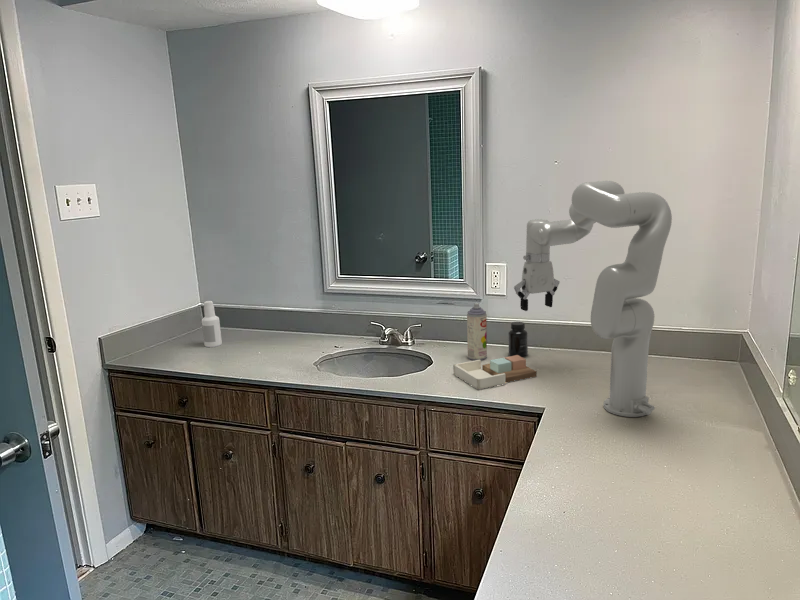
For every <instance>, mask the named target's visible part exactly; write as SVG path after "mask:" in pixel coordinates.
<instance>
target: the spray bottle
mask: <svg viewBox="0 0 800 600" xmlns="http://www.w3.org/2000/svg"><path fill="white" fill-rule="evenodd" d="M203 311H204V313H203V314H204V317H202V319H201V327H202V337H203V345H204V347H207V348H214V347H215V348H216V347H219V346H221V345H222V343H223V342H222V341H223V340H222V339H223V338H222V332H221V324H220V323H221V321H220V317H219V316H217V315H216V313H215V312H216V311H215V305H214V302H213V301H212V300H206V301H204V302H203Z"/></svg>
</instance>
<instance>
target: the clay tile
mask: <svg viewBox="0 0 800 600" xmlns="http://www.w3.org/2000/svg"><path fill="white" fill-rule="evenodd" d="M504 359H506V360H508V361H510V362H511V370H518V369H523V368H526V366H527V358H526V357H520V356H518V355H515V356H504Z"/></svg>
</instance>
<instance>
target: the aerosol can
mask: <svg viewBox="0 0 800 600" xmlns="http://www.w3.org/2000/svg"><path fill="white" fill-rule="evenodd" d="M473 304H474V305H473V306H472V308H470V310H469V311H467V313H466V326H467V327H466V331H467V332H466V334H467V338H466V339H467V340H466V341H467V359H468V360H469V361H475V360H481V361H485V360H487V359H488V357H487V356H488V354H487V353H488V345H487V344H488V340H487V339H488V336H487V335H488V334H487V333H488V332H487V331H488V330H487V327H488V326H487V323H488V320H487V319H488V318H487V311H485V310H484V309H483V308H482V307H481V306H480V303H478V302H477V303H473Z"/></svg>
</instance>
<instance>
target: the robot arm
mask: <svg viewBox="0 0 800 600" xmlns="http://www.w3.org/2000/svg"><path fill="white" fill-rule="evenodd" d="M568 215H569V218H570V219H565V220H564V219H563V220H555V221H549V220H548V219H542V218H541V219H539V218H538V219H537V218H536V219H530V220H528V221H527V223H526V239H525V240H526V243H525V245H526V248H525V250H526V251H525V255H523V260H524V264H523V267H522V275H521V281H520V282H518V283H517V284H516V285H514V287H513V289H514V291H515V294H516V295H517V297H519V299H520V306H519V307H520V309H521V311H525V312H528V311H529V299H528V297H529V296H530V294H541V293H545V294H544V295H545V297H544V305H545V306H546V307H547V308H548V307H549V308H552V307H553V302H554V301H553V297H554V295H555V293H556V292H557V290H558V288H559V285H560V283H561V282H560V280H558V279H556V278H554V268H553V261H552V260H550V258H551V257H550V256H551V255H550V252H551V251H550V250H551V249H550V248H551V247H553V246H554V247H555V246H561V245H562V246H563V245H570V244H574V243H576V242H579V241H580V240H581V239H584V238H585V237H586V236H588V235H589V234H590V233H591V231H592V230H593V227H594V224H595V223H598V224H599V225H602V226H604V227H607V228H611V229H612V228H613V229H619V228H629V227H636V226H638V227H639V228H638V229H637V231H636V232H635V234H634V235H633V236H632V238H631V240H630V242H629V244H628V249H627V254H626V258H625V261H623V263H617V264H611V265H609V266H606V267H605V268H604V269H602V271H601V272H600V273H599V275H598V277H597V278H596V283H595V289H594V293H593V300H592V306H591V311H590V326H591V329H592V332H593V333H594V334H595V335H596V336H597V337H598V338H601V339H606V340H608V339H613V341H612V345H611V351H610V353H611V354H610V355H611V357H610V376H609V380H610V381H609V397H608V398H607V397H606V398H605V400H603V408H604V410H606V412H609V413H611V414H613V415H616V416H620V417H627V418H639V417H645V416H649V415H651V413H652V411H654V410H655V408H656V407H655V405H653V404H650V403H649V396H647V380H648V379H647V378H648V363H649V349H650V340H651V335H652V332H653V329H654V328H653V327H654V323H655V311H654V308H653V306H652V305H651V303H649V302H648V301H647V300H645V299H642V298H643V297H646V296H648V295H651V294H652V293H653V292H654V290H655V288H656V286H657V282H658V277H659V273H660V267H661V264H662V259H663V255H664V250H665V246H666V243H667V241H668V237H669V234H670V232H671V227H672V220H673V219H672V218H673V217H672V216H673V215H672V211H671V206H669V203H668V201H666V199H665V198H664V197H663V196H661V195H660V194H657V193H655V192H650V191H649V192H648V191H647V192H645V191H642V192H640V191H639V192H632V193H631V192H630V193H625V190H624V188H623V186H621V184H619V183H618V182H615V181H612V180H601V181H600V180H598V181H587V182H582V183H581V184H579V185H578V186H576V187H575V189H574V190H573V192H572V195H571V204H570V206H569V209H568Z"/></svg>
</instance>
